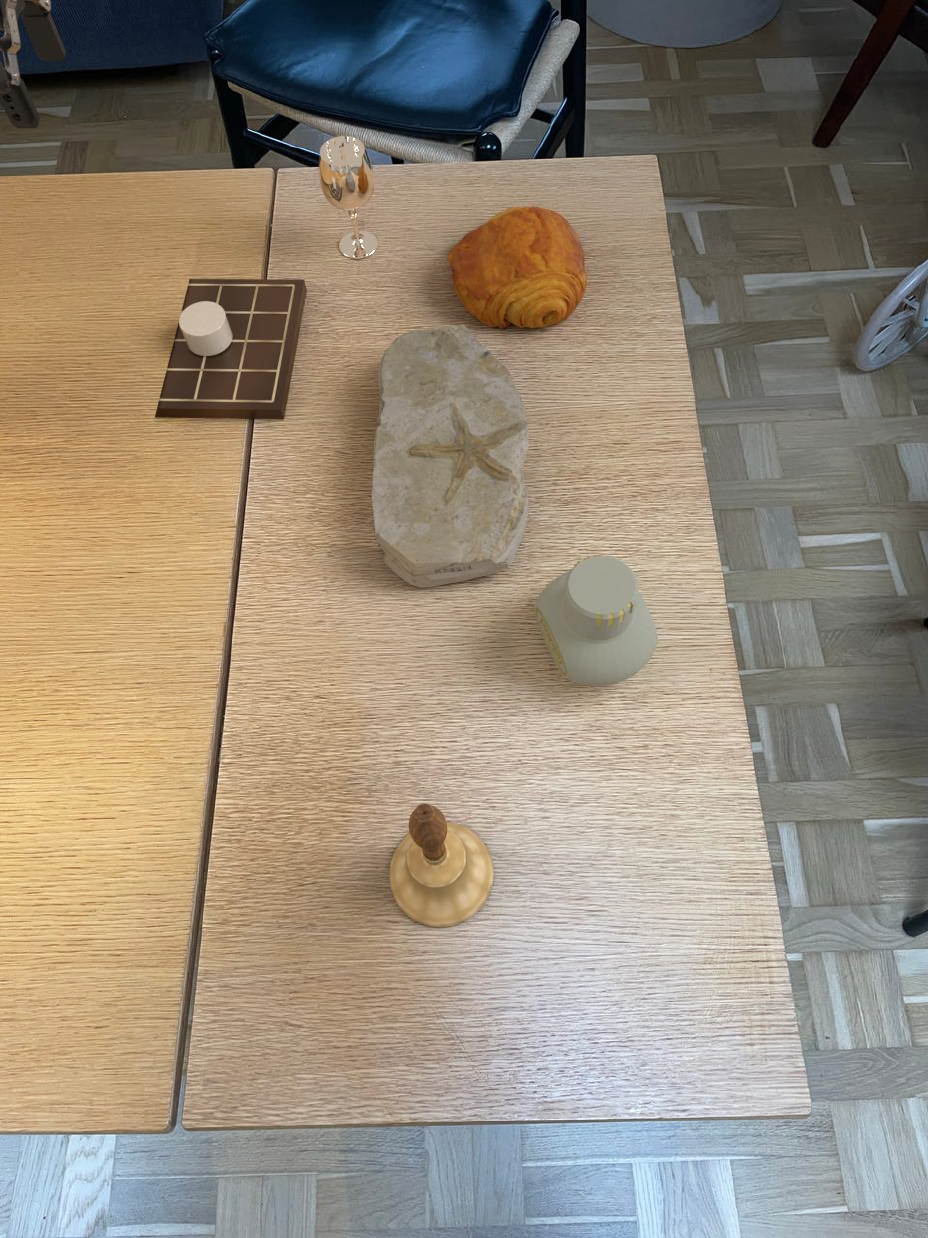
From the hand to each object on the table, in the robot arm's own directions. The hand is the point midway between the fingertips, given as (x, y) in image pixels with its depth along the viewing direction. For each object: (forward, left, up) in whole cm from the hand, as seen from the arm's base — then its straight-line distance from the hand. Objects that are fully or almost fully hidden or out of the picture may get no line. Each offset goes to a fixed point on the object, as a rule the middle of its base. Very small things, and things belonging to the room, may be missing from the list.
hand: (41, 91), depth 81 cm
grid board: (+7, -2, -28) cm, 29 cm away
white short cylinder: (+7, -2, -26) cm, 27 cm away
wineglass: (+21, +14, -28) cm, 38 cm away
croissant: (+39, +8, -28) cm, 49 cm away
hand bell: (+35, -56, -28) cm, 72 cm away
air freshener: (+47, -35, -28) cm, 65 cm away
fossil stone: (+33, -16, -28) cm, 46 cm away
